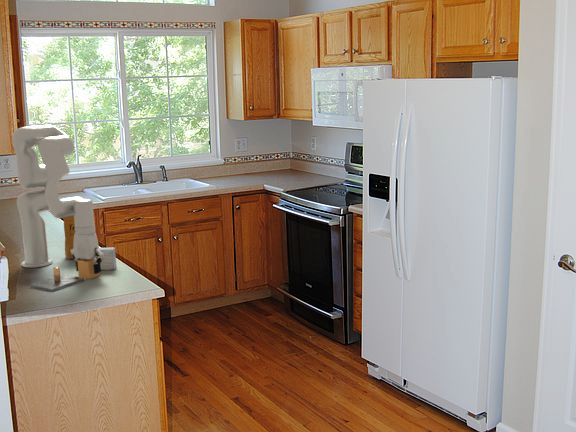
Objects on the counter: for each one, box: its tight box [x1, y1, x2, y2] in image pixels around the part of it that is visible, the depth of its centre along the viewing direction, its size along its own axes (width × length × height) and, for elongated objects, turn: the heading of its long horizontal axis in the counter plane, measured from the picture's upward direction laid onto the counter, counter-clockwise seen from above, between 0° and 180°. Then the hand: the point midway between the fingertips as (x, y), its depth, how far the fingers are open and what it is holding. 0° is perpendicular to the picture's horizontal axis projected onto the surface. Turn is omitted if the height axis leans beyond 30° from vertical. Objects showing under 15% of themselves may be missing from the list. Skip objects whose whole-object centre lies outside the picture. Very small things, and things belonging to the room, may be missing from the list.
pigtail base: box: [29, 266, 85, 292], centre depth 271 cm, size 12×16×6 cm
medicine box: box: [99, 246, 117, 271], centre depth 291 cm, size 8×4×9 cm, turn 92°
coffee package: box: [63, 216, 76, 259], centre depth 310 cm, size 10×12×22 cm
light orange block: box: [77, 259, 100, 280], centre depth 280 cm, size 6×6×7 cm
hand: (88, 271), depth 281 cm, fingers open, 9 cm apart
